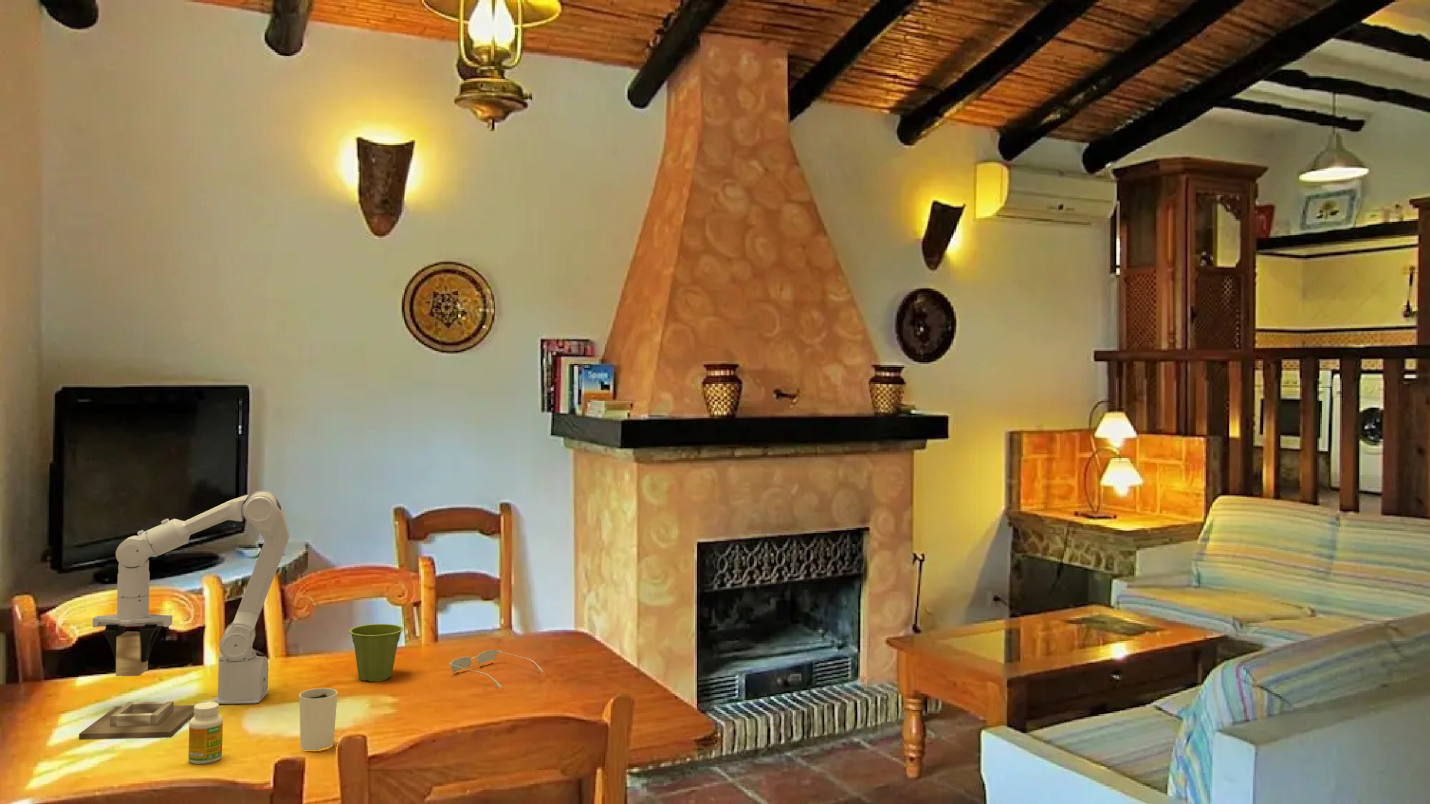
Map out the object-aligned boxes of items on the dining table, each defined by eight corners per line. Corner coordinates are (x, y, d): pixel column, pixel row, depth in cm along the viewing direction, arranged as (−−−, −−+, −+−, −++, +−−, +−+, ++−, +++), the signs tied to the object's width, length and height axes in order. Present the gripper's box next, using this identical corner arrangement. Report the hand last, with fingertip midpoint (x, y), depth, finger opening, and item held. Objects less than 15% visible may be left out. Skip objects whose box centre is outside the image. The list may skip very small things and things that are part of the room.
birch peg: (147, 669, 210) (148, 631, 210) (139, 676, 206) (139, 636, 206) (125, 670, 209) (125, 631, 209) (115, 676, 205) (116, 637, 205)
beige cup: (304, 740, 192) (305, 688, 191) (340, 740, 192) (341, 688, 192) (292, 753, 185) (294, 698, 185) (330, 753, 186) (331, 699, 185)
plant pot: (413, 676, 234) (414, 628, 234) (370, 688, 224) (372, 638, 224) (379, 667, 241) (380, 620, 240) (336, 679, 231) (338, 629, 231)
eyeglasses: (497, 664, 248) (497, 647, 248) (549, 678, 238) (550, 661, 238) (447, 677, 236) (447, 660, 236) (500, 693, 225) (500, 675, 225)
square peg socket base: (200, 709, 207) (200, 695, 207) (170, 737, 191) (170, 721, 191) (115, 711, 204) (116, 696, 204) (78, 739, 189) (79, 723, 189)
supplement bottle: (208, 766, 178) (209, 711, 177) (181, 763, 179) (182, 708, 179) (228, 755, 183) (229, 702, 183) (202, 752, 184) (203, 699, 184)
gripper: (86, 599, 202) (84, 667, 202) (163, 599, 204) (162, 666, 205) (102, 592, 209) (100, 657, 209) (176, 592, 211) (175, 656, 212)
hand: (132, 661), depth 208 cm, fingers closed on birch peg, 4 cm apart
